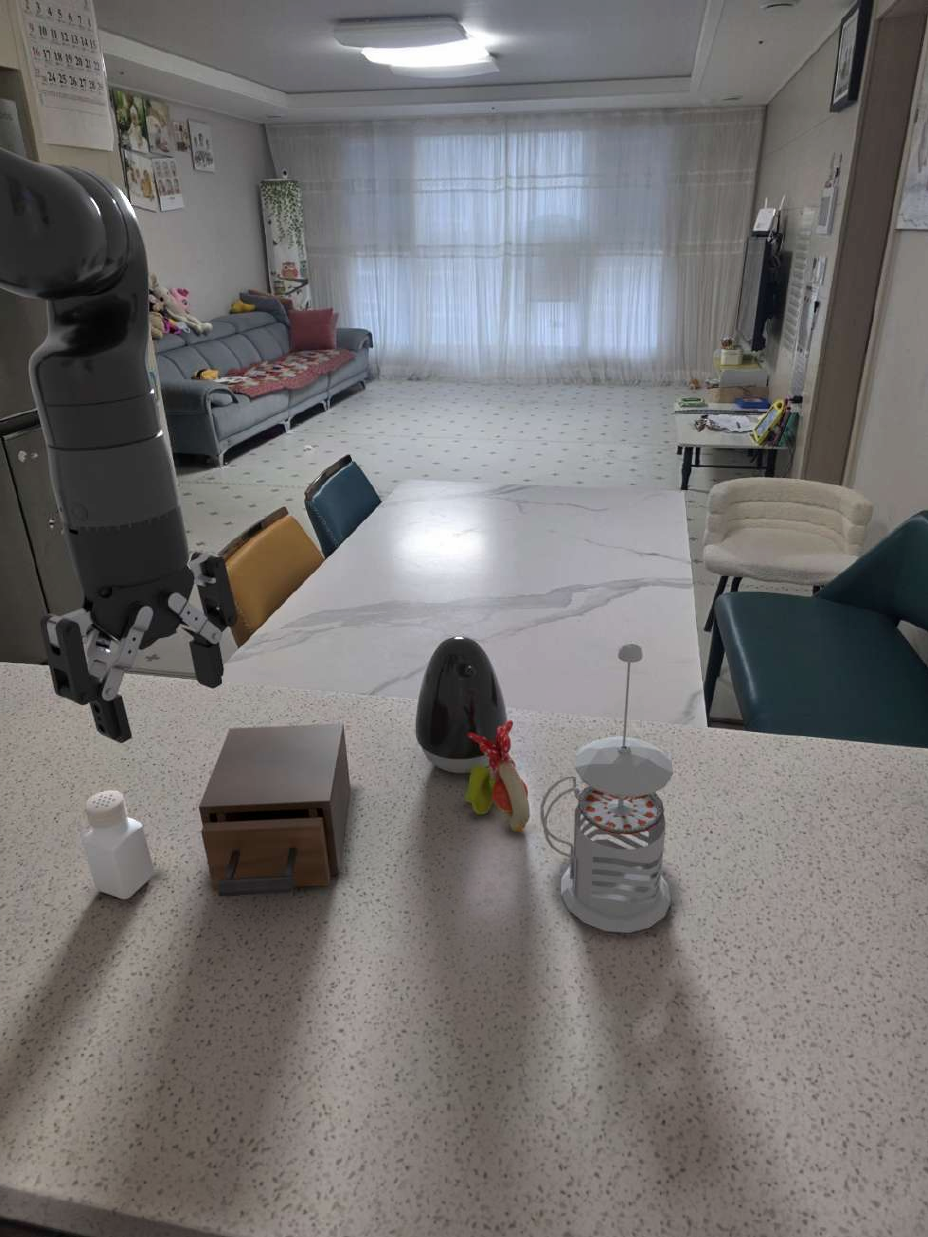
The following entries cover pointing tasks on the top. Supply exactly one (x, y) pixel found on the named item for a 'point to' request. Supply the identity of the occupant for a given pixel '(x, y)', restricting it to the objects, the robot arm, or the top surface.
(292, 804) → the cabinet
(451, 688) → the black egg-shaped device
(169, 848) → the top surface
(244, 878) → the drawer
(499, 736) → the bird rattle
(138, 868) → the pepper shaker
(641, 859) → the french press
